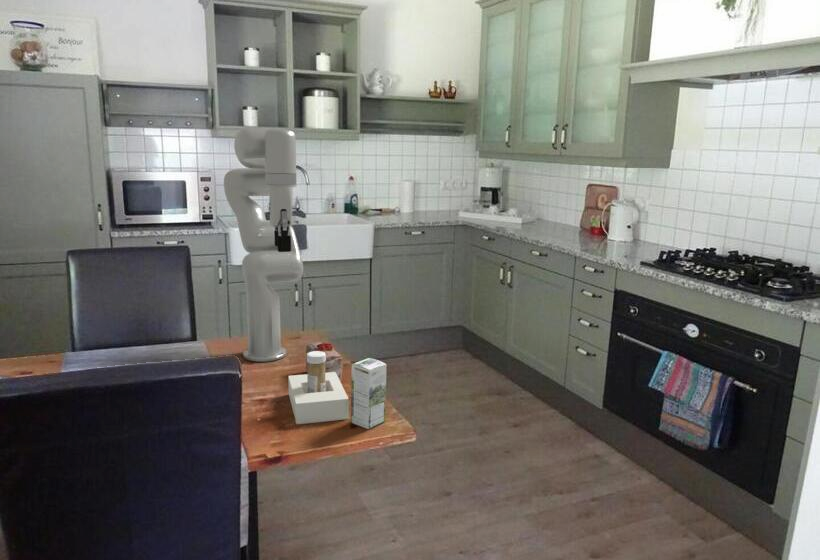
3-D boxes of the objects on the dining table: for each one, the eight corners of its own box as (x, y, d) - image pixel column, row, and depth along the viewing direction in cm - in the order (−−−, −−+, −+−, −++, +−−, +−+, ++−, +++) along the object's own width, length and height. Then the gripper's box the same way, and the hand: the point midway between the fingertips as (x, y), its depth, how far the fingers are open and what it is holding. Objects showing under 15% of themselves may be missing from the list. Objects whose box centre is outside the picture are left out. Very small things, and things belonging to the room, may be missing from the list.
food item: (346, 383, 164) (346, 348, 162) (318, 388, 161) (318, 353, 159) (328, 367, 176) (327, 334, 174) (301, 372, 172) (300, 338, 170)
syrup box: (367, 415, 145) (367, 356, 142) (386, 422, 141) (386, 362, 138) (350, 422, 141) (350, 362, 138) (369, 430, 137) (369, 369, 134)
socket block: (288, 394, 156) (288, 375, 155) (335, 390, 160) (335, 371, 159) (296, 424, 139) (296, 403, 138) (348, 418, 143) (348, 398, 142)
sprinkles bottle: (329, 407, 149) (329, 354, 146) (312, 411, 147) (311, 357, 144) (321, 400, 153) (320, 349, 150) (304, 404, 150) (303, 352, 148)
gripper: (263, 178, 160) (265, 243, 163) (267, 182, 144) (269, 254, 147) (292, 178, 162) (294, 243, 165) (300, 182, 146) (301, 253, 149)
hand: (282, 248), depth 156 cm, fingers open, 9 cm apart
